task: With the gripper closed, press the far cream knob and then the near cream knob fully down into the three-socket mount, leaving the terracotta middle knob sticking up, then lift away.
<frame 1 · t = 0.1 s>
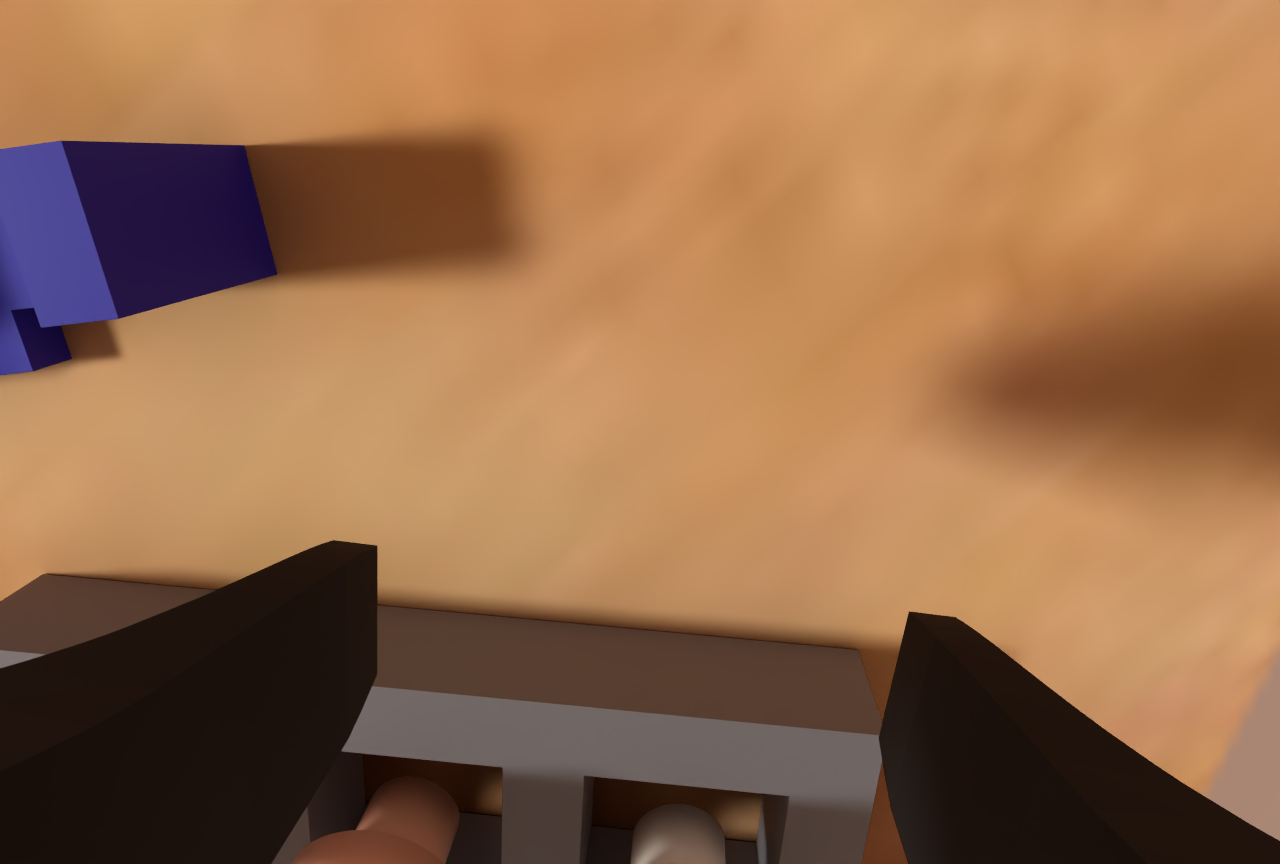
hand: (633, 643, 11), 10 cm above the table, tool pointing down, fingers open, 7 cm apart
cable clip: (53, 269, 21), on the table
mount: (444, 743, 24), on the table
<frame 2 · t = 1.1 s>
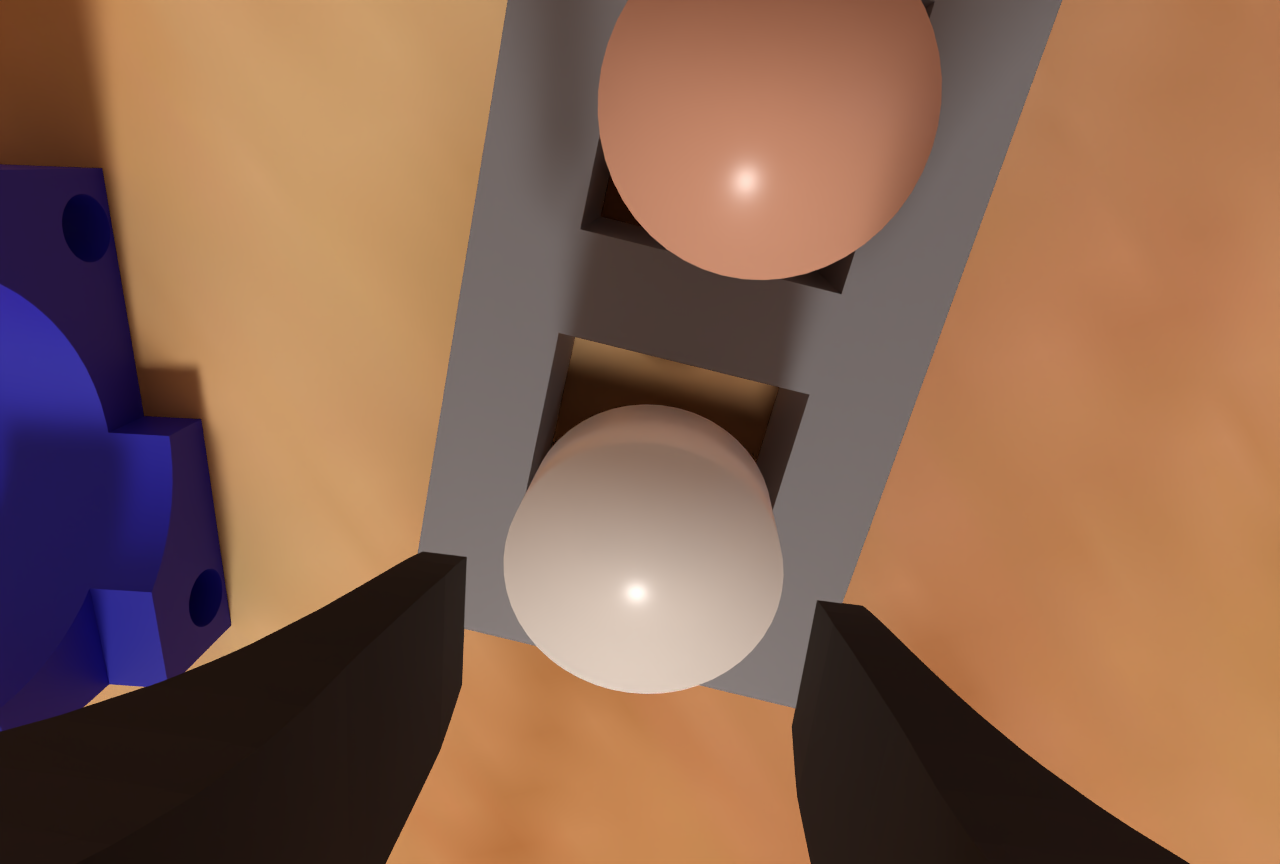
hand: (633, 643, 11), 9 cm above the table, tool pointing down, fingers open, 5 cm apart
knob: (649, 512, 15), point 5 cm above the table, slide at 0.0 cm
knob middle: (754, 117, 13), point 5 cm above the table, slide at 0.0 cm
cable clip: (125, 410, 21), on the table
mount: (737, 128, 18), on the table
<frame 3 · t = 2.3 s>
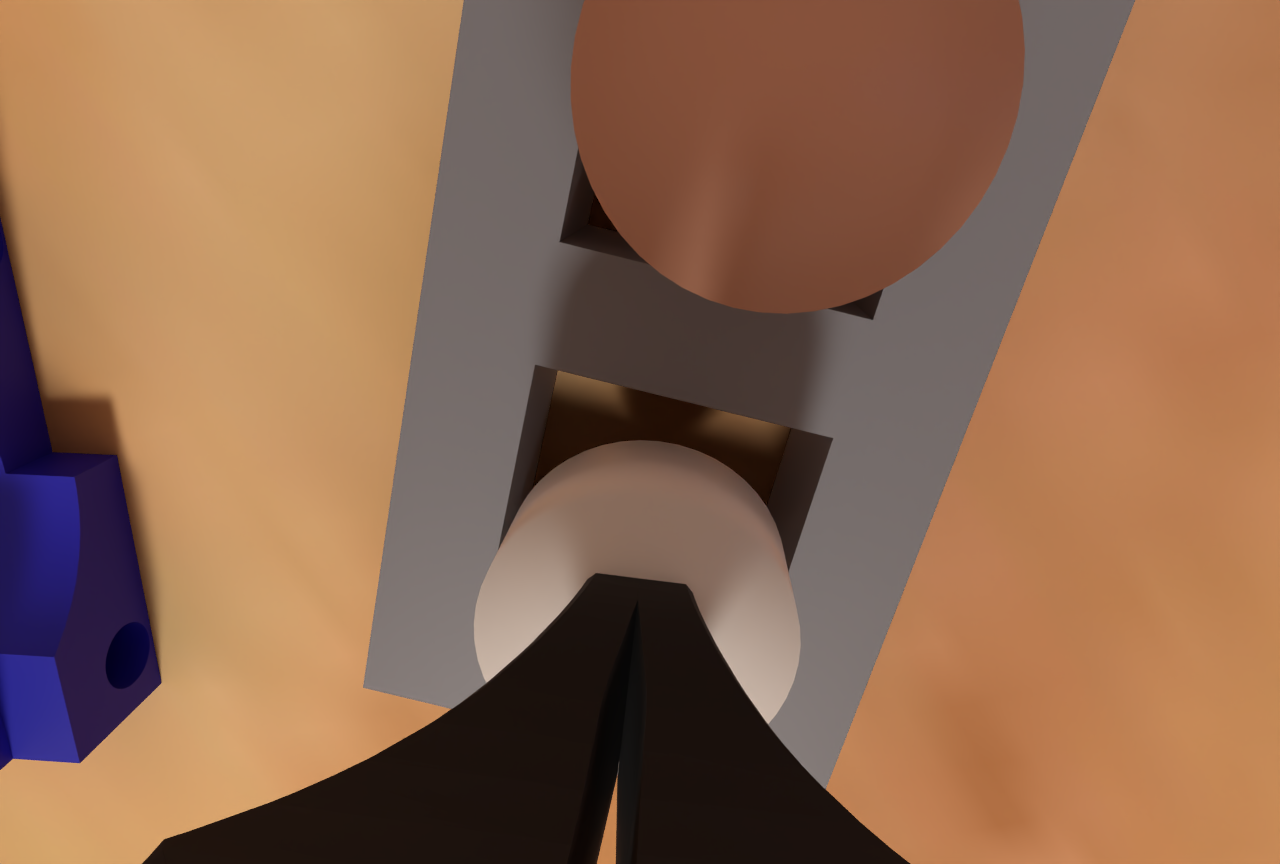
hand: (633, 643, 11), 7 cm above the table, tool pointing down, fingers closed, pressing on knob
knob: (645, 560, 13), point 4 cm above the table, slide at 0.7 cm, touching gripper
knob middle: (771, 105, 10), point 5 cm above the table, slide at 0.0 cm
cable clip: (33, 445, 19), on the table
mount: (747, 122, 15), on the table
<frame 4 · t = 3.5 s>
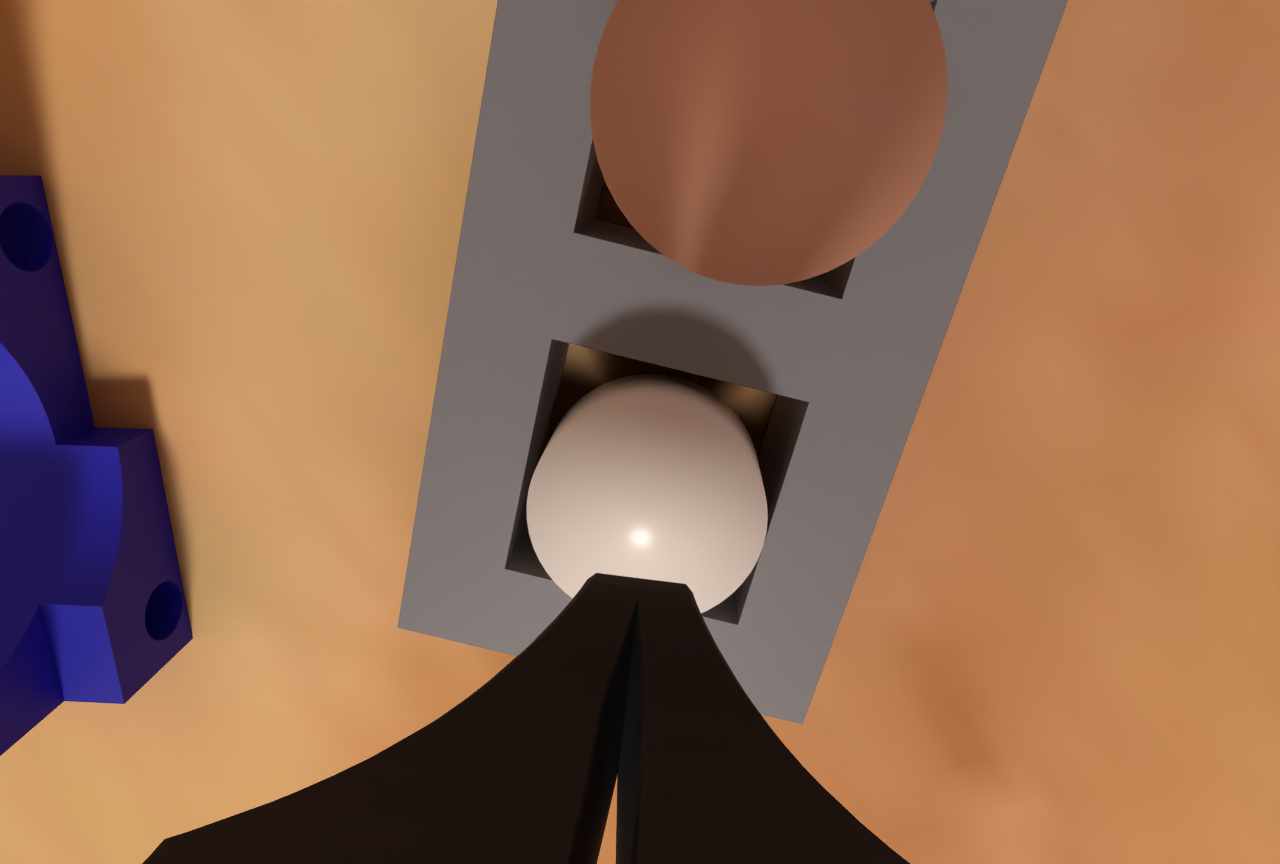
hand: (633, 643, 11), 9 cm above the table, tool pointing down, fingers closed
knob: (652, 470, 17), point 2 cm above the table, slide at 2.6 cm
knob middle: (752, 117, 12), point 5 cm above the table, slide at 0.0 cm
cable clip: (77, 421, 21), on the table
mount: (735, 129, 17), on the table
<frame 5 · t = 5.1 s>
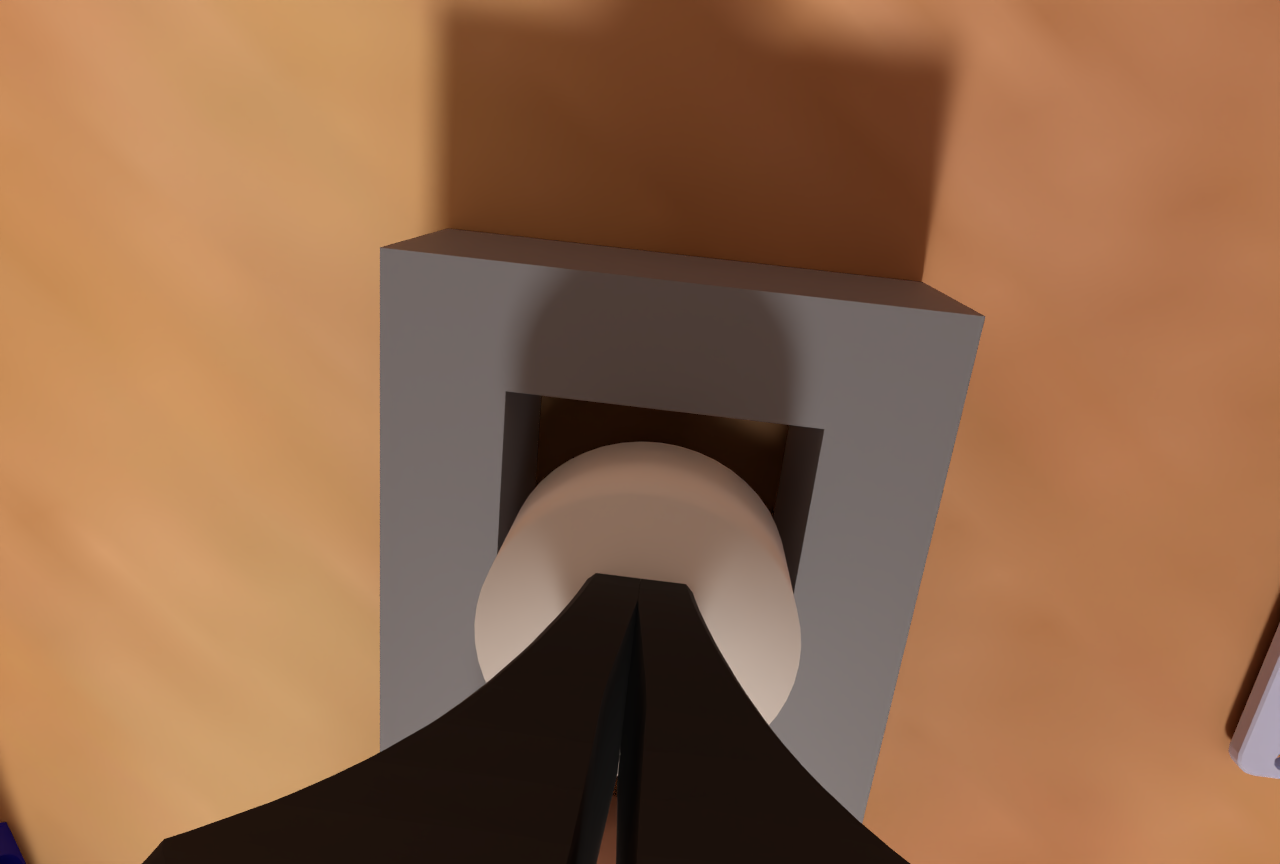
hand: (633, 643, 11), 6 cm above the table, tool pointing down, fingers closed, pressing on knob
mount: (624, 751, 19), on the table
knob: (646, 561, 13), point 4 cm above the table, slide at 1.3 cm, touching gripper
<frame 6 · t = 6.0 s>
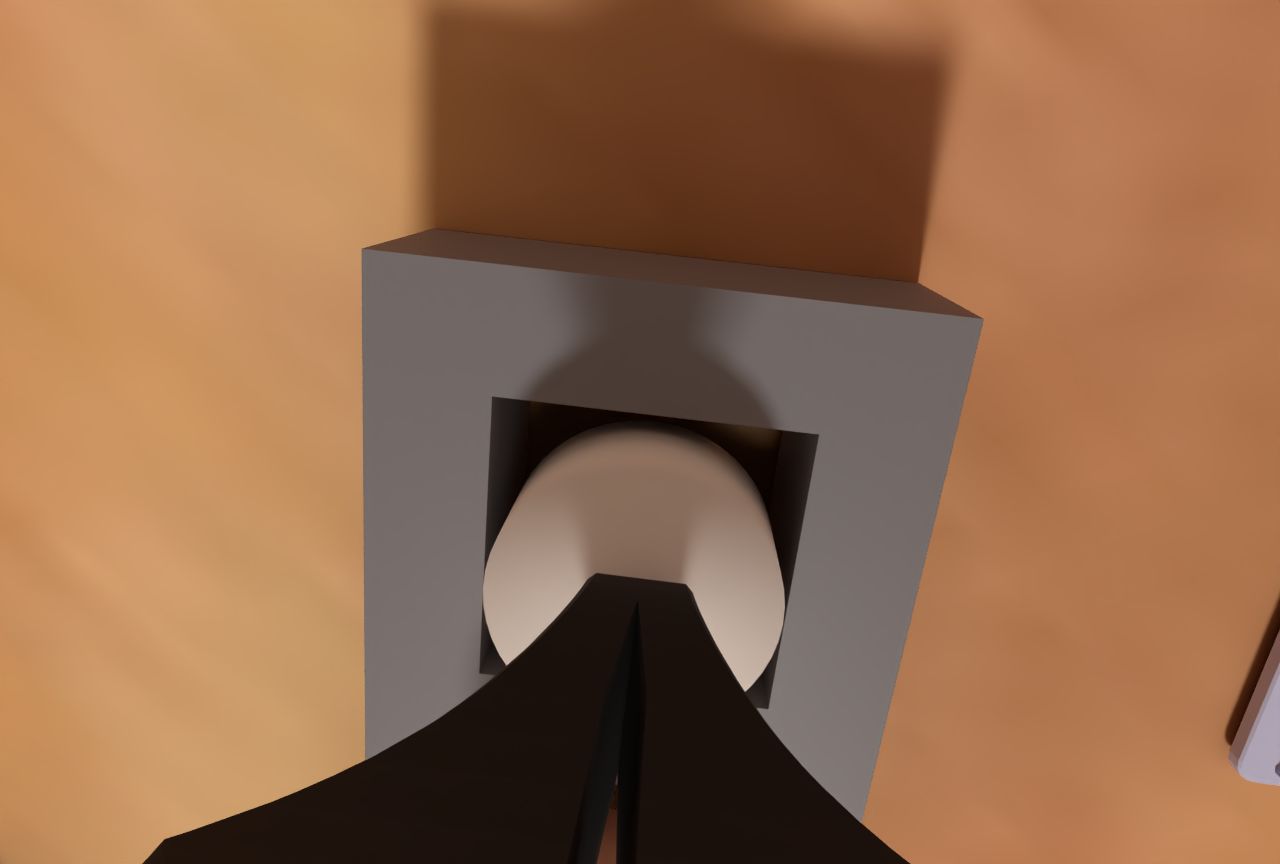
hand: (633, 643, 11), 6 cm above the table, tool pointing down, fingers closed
mount: (616, 760, 19), on the table
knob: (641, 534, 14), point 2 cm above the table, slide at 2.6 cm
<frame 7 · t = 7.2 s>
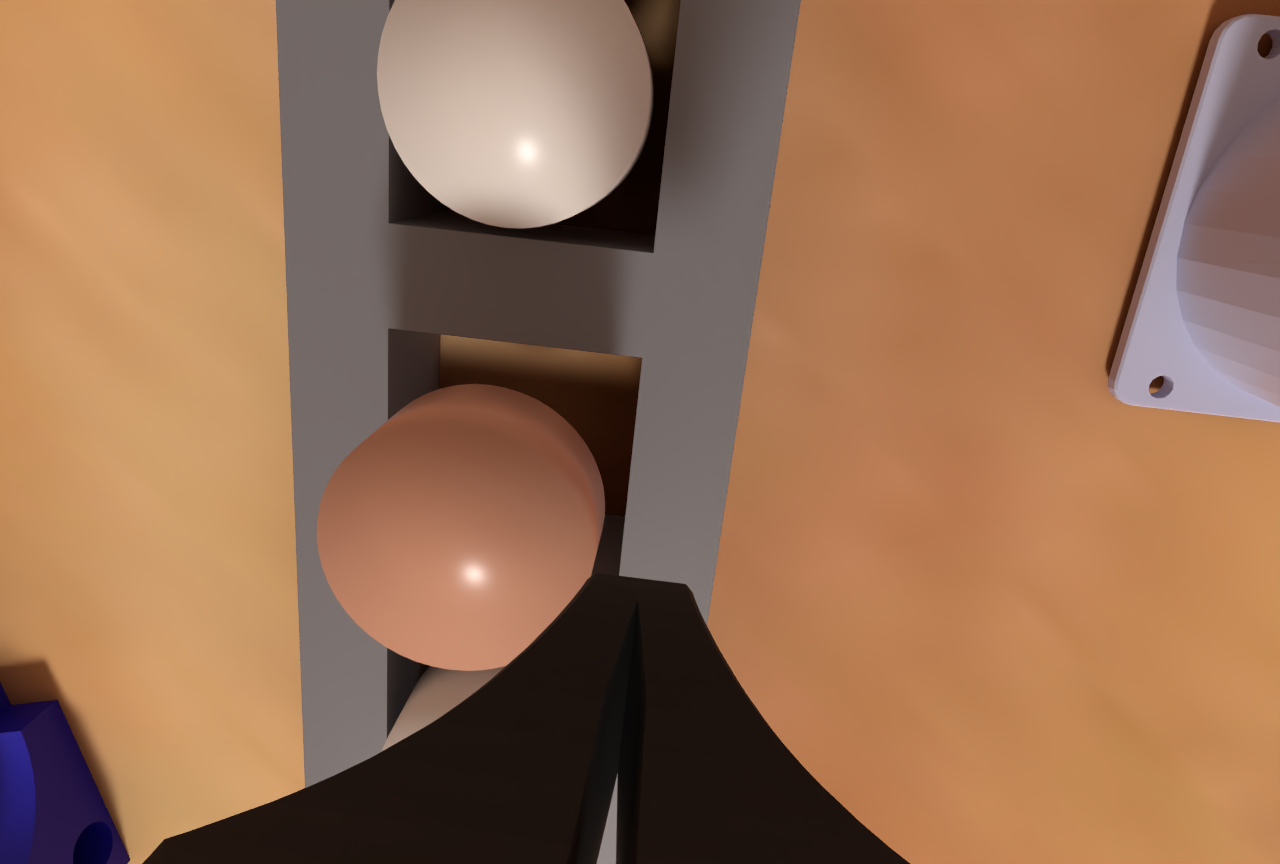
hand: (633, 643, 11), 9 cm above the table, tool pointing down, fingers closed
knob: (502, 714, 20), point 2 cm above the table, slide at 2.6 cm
knob middle: (489, 492, 15), point 5 cm above the table, slide at 0.0 cm
mount: (539, 411, 20), on the table
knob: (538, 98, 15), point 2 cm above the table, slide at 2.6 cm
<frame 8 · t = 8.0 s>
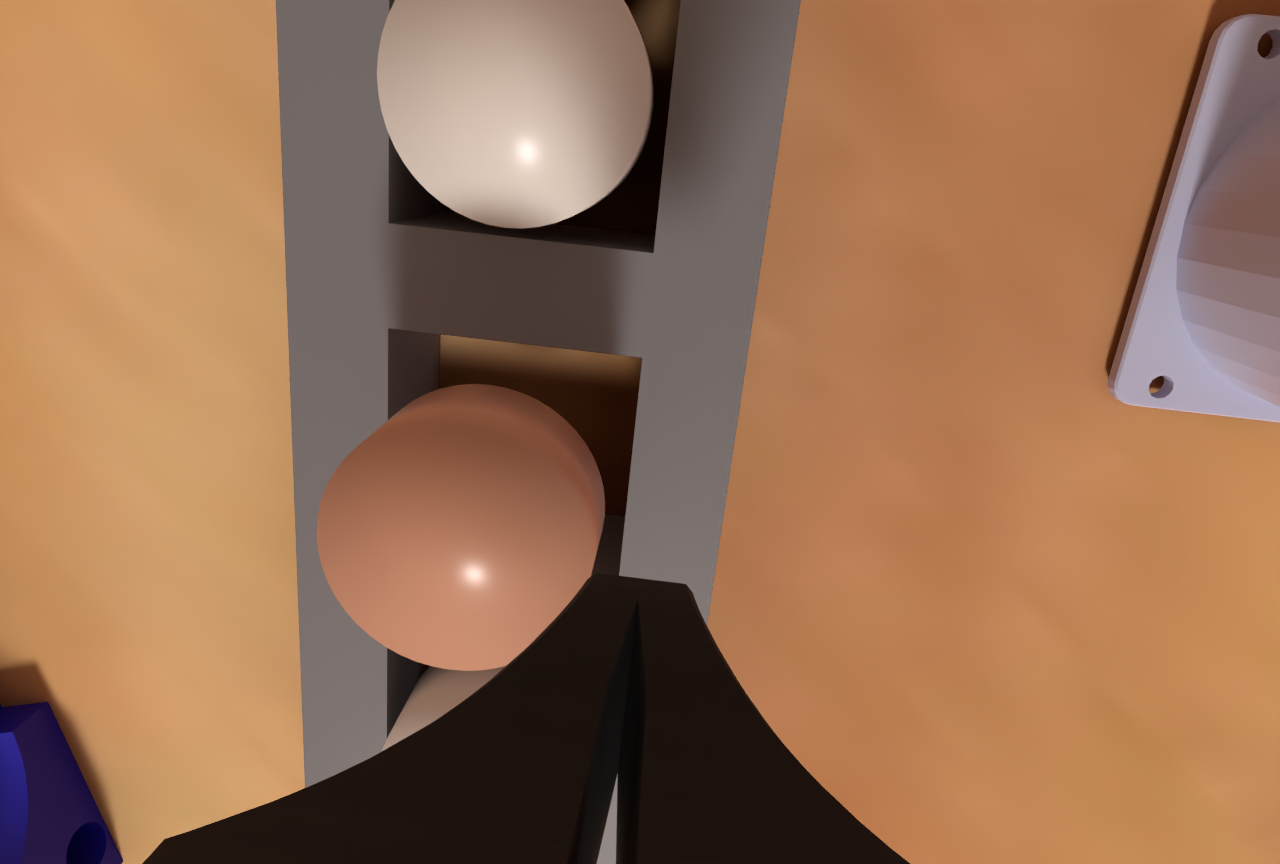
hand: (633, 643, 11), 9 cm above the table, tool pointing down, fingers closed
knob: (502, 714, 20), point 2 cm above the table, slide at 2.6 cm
knob middle: (489, 492, 15), point 5 cm above the table, slide at 0.0 cm
mount: (539, 411, 20), on the table
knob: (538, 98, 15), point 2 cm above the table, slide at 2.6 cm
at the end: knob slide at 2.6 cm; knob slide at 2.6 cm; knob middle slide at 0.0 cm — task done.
